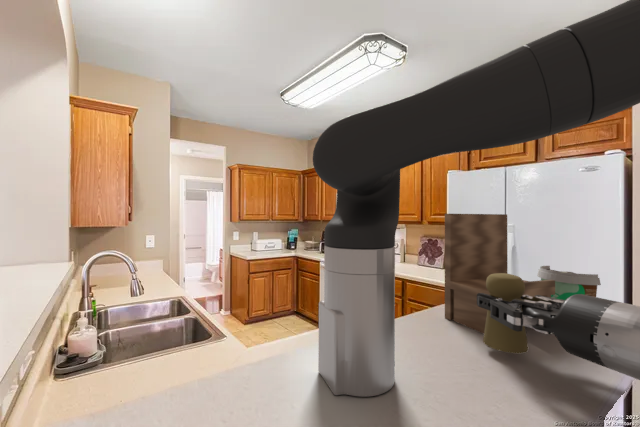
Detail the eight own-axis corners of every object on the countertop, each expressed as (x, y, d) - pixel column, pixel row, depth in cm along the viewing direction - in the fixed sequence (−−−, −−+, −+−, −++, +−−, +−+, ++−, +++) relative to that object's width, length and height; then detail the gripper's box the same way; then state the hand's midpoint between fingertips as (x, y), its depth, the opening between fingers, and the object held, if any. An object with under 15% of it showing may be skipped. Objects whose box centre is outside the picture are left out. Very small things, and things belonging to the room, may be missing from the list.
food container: (523, 307, 71) (523, 265, 71) (547, 307, 72) (547, 265, 72) (573, 326, 59) (572, 275, 59) (601, 325, 60) (600, 274, 60)
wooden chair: (492, 338, 53) (492, 212, 53) (444, 317, 63) (444, 213, 64) (555, 328, 58) (554, 214, 58) (501, 310, 69) (500, 214, 69)
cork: (527, 357, 43) (527, 279, 43) (479, 346, 46) (479, 274, 47) (529, 343, 47) (529, 273, 48) (486, 334, 51) (486, 269, 51)
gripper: (657, 298, 36) (520, 273, 52) (579, 308, 31) (454, 277, 47) (658, 361, 36) (520, 316, 52) (579, 381, 31) (454, 325, 47)
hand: (489, 298), depth 50 cm, fingers closed on cork, 4 cm apart
